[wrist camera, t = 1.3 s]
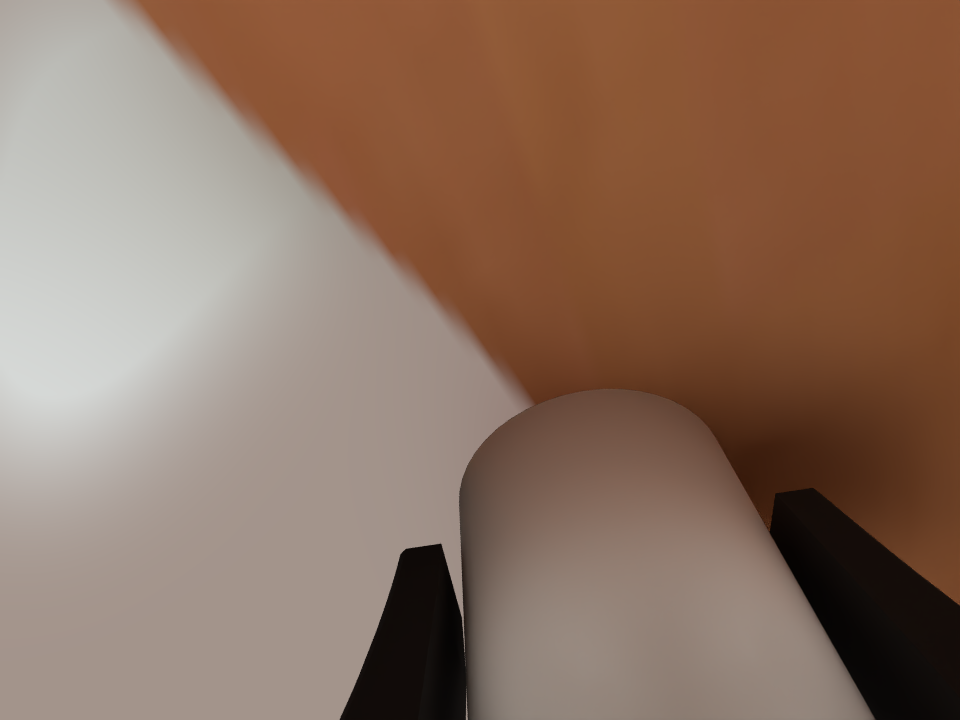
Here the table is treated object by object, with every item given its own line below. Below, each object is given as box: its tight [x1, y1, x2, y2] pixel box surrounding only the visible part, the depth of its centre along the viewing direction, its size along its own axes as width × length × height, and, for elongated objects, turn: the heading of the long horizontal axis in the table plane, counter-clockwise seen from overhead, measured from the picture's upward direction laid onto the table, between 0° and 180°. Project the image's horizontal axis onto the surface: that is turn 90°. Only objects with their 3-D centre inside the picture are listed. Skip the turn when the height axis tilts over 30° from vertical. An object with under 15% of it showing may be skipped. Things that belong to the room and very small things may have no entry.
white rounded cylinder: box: [459, 389, 875, 720], centre depth 9 cm, size 5×5×6 cm
